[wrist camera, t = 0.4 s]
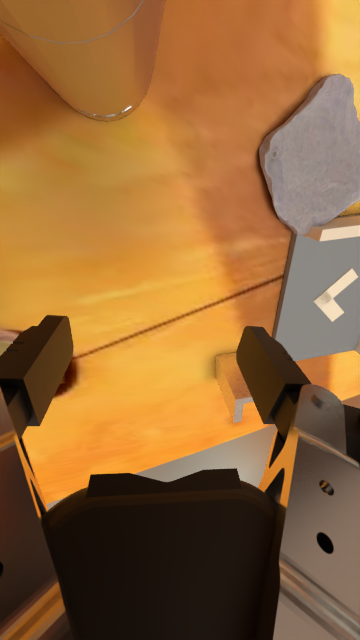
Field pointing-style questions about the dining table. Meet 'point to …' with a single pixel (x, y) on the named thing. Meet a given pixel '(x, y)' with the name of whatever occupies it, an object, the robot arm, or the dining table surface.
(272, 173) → the stone block
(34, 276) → the dining table surface
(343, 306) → the arena
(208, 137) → the dining table surface
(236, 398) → the bracket
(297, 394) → the robot arm
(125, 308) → the dining table surface
